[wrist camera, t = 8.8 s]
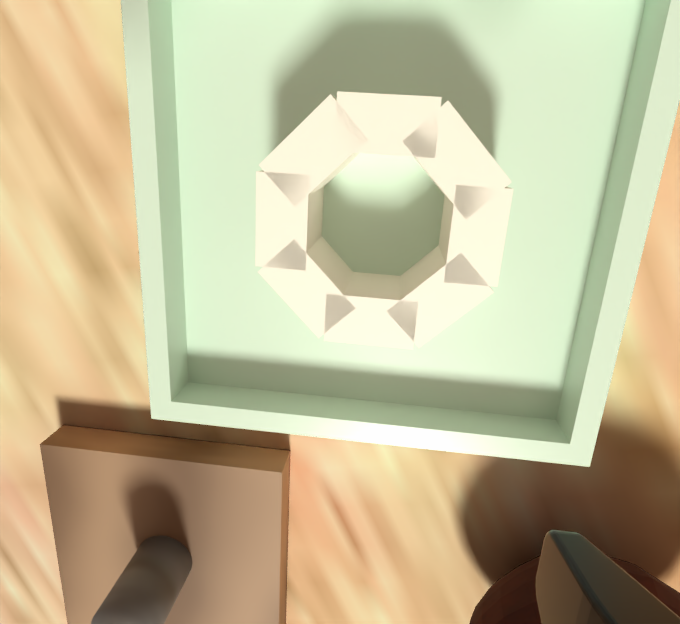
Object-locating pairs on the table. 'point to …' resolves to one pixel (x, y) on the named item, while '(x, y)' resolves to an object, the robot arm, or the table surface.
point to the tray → (399, 210)
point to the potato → (521, 601)
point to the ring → (367, 288)
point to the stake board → (167, 528)
